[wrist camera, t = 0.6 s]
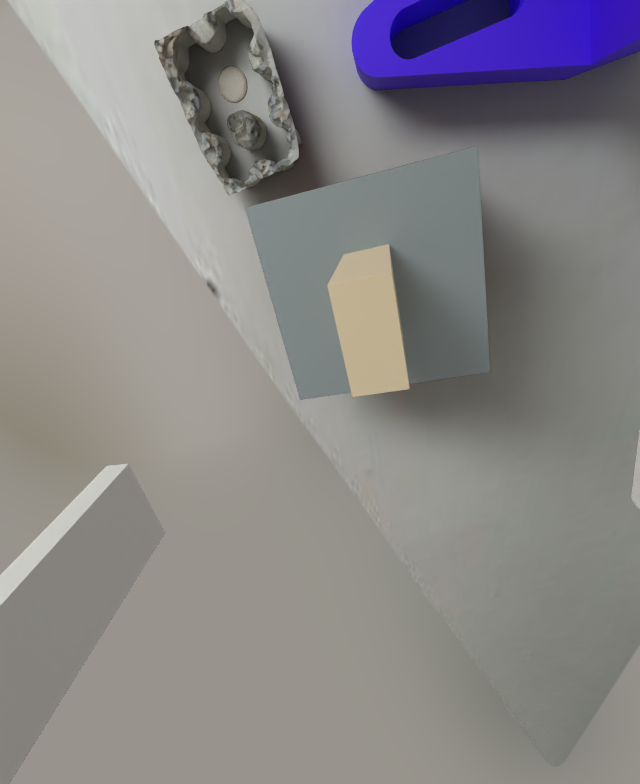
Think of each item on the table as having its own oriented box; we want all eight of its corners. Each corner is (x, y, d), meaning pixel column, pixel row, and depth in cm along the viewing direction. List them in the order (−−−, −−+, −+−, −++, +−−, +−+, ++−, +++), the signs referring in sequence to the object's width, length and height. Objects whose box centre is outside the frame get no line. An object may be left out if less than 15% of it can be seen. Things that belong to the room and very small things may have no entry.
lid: (249, 206, 27) (185, 219, 18) (474, 147, 24) (527, 127, 15) (302, 394, 33) (273, 470, 24) (487, 366, 30) (530, 443, 21)
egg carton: (173, 50, 31) (145, 32, 27) (262, 1, 29) (244, -25, 25) (231, 198, 35) (213, 200, 31) (312, 164, 33) (303, 162, 29)
